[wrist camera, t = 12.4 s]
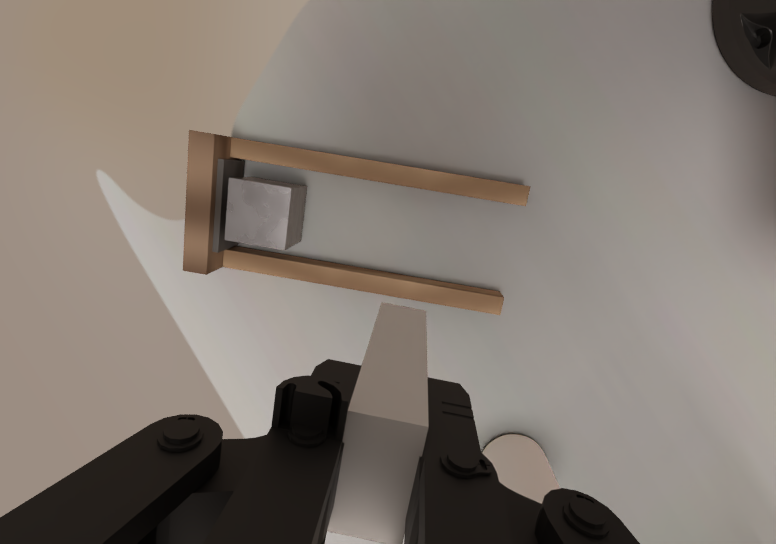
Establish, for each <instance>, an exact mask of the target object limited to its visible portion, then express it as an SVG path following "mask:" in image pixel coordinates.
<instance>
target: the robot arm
mask: <svg viewBox="0 0 776 544" xmlns="http://www.w3.org/2000/svg"><path fill="white" fill-rule="evenodd" d="M713 25H714V31H715V36H716V40H717V43H718V46H719V48H720V50H721V53H722V55H723V57H724V58H725V60H726V62H727V63H728V65H729V66H730V67H731V69H732V70H733V71H734V72H735V73H736V74H737V75H738V76H739V77H740V78H741V79H742V80H743V81H745V82H746V83H747V84H749V85H750V86H752V87H754V88H755V89H757V90H759V91H762V92H764V93H767V94H770V95H774V96H776V0H713ZM471 408H472V407H471V402H470V397H469V395H468V393H467V392H466V391H465V390H464V389H463V387H462V386H461V385H460V384H458V383H453V382H448V381H443V380H438V379H433V378H428V377H427V332H426V311H424V310H419V309H414V308H409V307H404V306H398V305H393V304H388V303H383V302H382V303H381V306H380V309H379V313H378V316H377V319H376V322H375V325H374V328H373V332H372V335H371V338H370V341H369V344H368V347H367V351H366V354H365V357H364V360H363V363H362V366H360V365H355V364H350V363H345V362H340V361H335V360H330V359H328V360H326V361H324V362H323V363H321V364H319V365H318V366H316V367H315V369H314V371H313V373H312V375H311V376H299V377H293V378H290V379H288V380H285V381H283V382H282V383H281V384H279V385H278V386H277V387H276V394H275V402H274V411H273V419H272V427H271V429H270V431H269V432H268V434H267V435H264V436H260V437H256V438H248V439H222V436H223V431H222V429H221V428H220V426H219V424H218V423H216V422H215V421H213V420H212V419H210V418H208V417H203V416H199V415H177V416H172V417H167V418H163V419H162V420H159V421H157V422H155V423H152V424H150V425H149V426H147V427H146V428H144V429H142V430H141V431H139V432H137V433H136V434H134V435H133V436H131V437H129V438H128V439H126V440H124V441H123V442H121V443H120V444H118V445H116V446H115V447H113V448H112V449H110V450H108V451H107V452H105V453H104V454H102V455H100V456H99V457H97V458H95V459H94V460H92V461H91V462H89V463H88V464H86V465H84V466H83V467H81V468H79V469H78V470H76V471H75V472H73V473H71V474H70V475H68V476H67V477H65V478H63V479H62V480H60V481H59V482H57V483H55V484H54V485H52V486H51V487H49V488H47V489H46V490H44V491H42V492H41V493H39V494H38V495H36V496H34V497H33V498H31V499H29V500H28V501H26V502H25V503H23V504H22V505H20V506H18V507H17V508H15V509H13V510H12V511H10V512H9V513H7V514H5V515H4V516H2V517H0V544H325V538H326V533H327V531H329V532H333V533H338V534H343V535H347V536H352V537H357V538H361V539H366V540H371V541H375V542H380V543H385V544H402V543H403V538H404V534H405V541H404V544H640V543H639V542H638V541H637V540H636V538H635V537H634V536H633V535H632V534H631V532H630V531H629V530H628V529H627V527H626V526H625V525H624V524H623V523H622V521H621V520H620V519H619V518H618V517H617V516H616V515H615V514H614V513H613V512H612V511H611V510H610V509H609V508H608V507H606V506H605V505H603V504H602V503H600V502H599V501H597V500H596V499H594V498H593V497H590V496H588V495H586V494H584V493H581V492H579V491H575V490H569V489H564V488H561V489H555V490H551V491H550V492H548V493H547V494H546V495H545V496H544V499H543V502H542V504H541V503H539V502H536V501H534V500H532V499H530V498H527V497H525V496H523V495H520V494H518V493H516V492H514V491H513V490H511V489H509V488H507V487H506V486H504V485H503V484H502V483H500V482H499V479H498V475H497V472H496V470H495V468H494V466H493V464H492V462H491V461H490V460H489V459H488V458H487V457H486V456H485V455H484V454H482V453H481V450H480V445H479V440H478V436H477V431H476V426H475V421H474V420H473V419H474V416H473V411H472V410H471Z"/></svg>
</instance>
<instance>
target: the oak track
mask: <svg viewBox="0 0 776 544" xmlns="http://www.w3.org/2000/svg"><path fill="white" fill-rule="evenodd" d="M188 145H189V146H188V168H187V190H186V212H185V234H184V257H183V271H189V272H194V273H200V274H206V275H207V274H209V273H211V272H213V271H215V270H217V269H219V268H221V267H227V268H233V269H239V270H244V271H250V272H256V273H262V274H267V275H273V276H279V277H284V278H290V279H296V280H302V281H307V282H313V283H319V284H325V285H330V286H336V287H342V288H348V289H353V290H359V291H365V292H371V293H376V294H382V295H388V296H393V297H399V298H405V299H411V300H416V301H422V302H428V303H434V304H439V305H445V306H451V307H457V308H462V309H468V310H474V311H479V312H485V313H491V314H497V315H500V313H501V309H502V305H503V300H504V297H503V295H502V294H501V293H500V291H494V290H488V289H482V288H476V287H471V286H465V285H459V284H453V283H447V282H442V281H436V280H430V279H424V278H418V277H413V276H407V275H401V274H395V273H389V272H384V271H378V270H372V269H366V268H361V267H355V266H349V265H343V264H337V263H332V262H326V261H320V260H314V259H308V258H303V257H297V256H291V255H285V254H279V253H274V252H268V251H262V250H256V249H251V248H245V247H239V246H236V245H238V242H234V241H228V240H225V226H226V212H227V198H228V184H229V178H231V177H243V171H244V161H242V160H240V159H245V160H251V161H257V162H263V163H269V164H275V165H281V166H287V167H293V168H299V169H305V170H311V171H317V172H323V173H329V174H335V175H341V176H347V177H354V178H360V179H366V180H372V181H378V182H384V183H390V184H396V185H402V186H408V187H414V188H420V189H426V190H432V191H438V192H444V193H450V194H456V195H462V196H468V197H474V198H480V199H486V200H492V201H498V202H504V203H510V204H516V205H522V206H526V203H527V199H528V195H529V191H530V186H524V185H518V184H512V183H506V182H500V181H494V180H488V179H481V178H475V177H469V176H463V175H457V174H451V173H445V172H439V171H433V170H427V169H421V168H415V167H409V166H403V165H396V164H390V163H384V162H378V161H372V160H366V159H360V158H354V157H348V156H342V155H336V154H330V153H324V152H318V151H311V150H305V149H299V148H293V147H287V146H281V145H275V144H269V143H263V142H257V141H251V140H245V139H239V138H232V137H227V136H222V135H216V134H210V133H204V132H198V131H192V130H189V144H188Z"/></svg>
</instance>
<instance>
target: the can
mask: <svg viewBox="0 0 776 544" xmlns="http://www.w3.org/2000/svg"><path fill="white" fill-rule="evenodd" d="M482 454H484V455H485V456H486V457H487V458H488V459H489V460H490V461H491V462H492V464H493V466H494V468H495V470H496V472H497V475H498V479H499V482H500V483H502V484H503V485H504V486H506V487H507V488H509V489H511V490H513V491H514V492H516V493H518V494H520V495H523V496H525V497H527V498H530V499H532V500H534V501H536V502H539V503H541V504H542V502H543V499H544V496H545V495H546V494H547V493H548V492H550V491H551V490H555V489H560V487H559V485H558V482H557V480H556V478H555V476H554V473H553V471H552V469H551V467H550V465H549V462H548V460H547V458H546V456H545V454H544V452H543V450H542V449H541V447H540V446H539V445H538V444H537V443H536V442H535V441H534V440H532V439H530V438H528V437H526V436H522V435H516V434H509V435H503V436H501V437H498V438H496V439H495V440H493V441H492V442H490V443H489V444H488V445H487V446H486V447H485V449H484V450H483V452H482Z"/></svg>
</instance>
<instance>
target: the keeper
mask: <svg viewBox="0 0 776 544" xmlns="http://www.w3.org/2000/svg"><path fill="white" fill-rule="evenodd" d="M306 194H307V186H303V185H297V184H291V183H285V182H279V181H273V180H268V179H262V178H256V177H231V178H229V184H228V198H227V212H226V226H225V240H228V241H234V242H239V243H245V244H251V245H256V246H262V247H268V248H274V249H279V250H286V249H288V248H290V247H292V246H293V245H295V244H297V243H299V242H300V241H301V238H302V229H303V221H304V212H305V203H306Z"/></svg>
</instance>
